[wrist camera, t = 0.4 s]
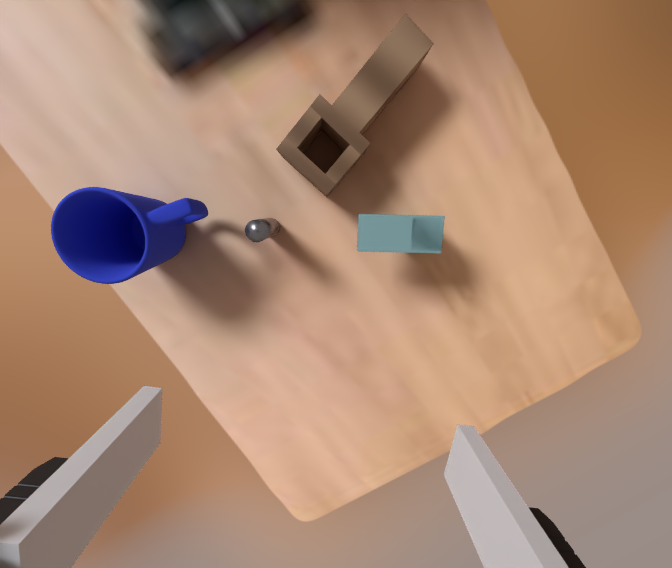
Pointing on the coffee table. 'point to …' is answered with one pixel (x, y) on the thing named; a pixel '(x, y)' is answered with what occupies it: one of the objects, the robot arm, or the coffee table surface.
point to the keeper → (400, 233)
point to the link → (356, 106)
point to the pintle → (261, 229)
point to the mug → (119, 232)
